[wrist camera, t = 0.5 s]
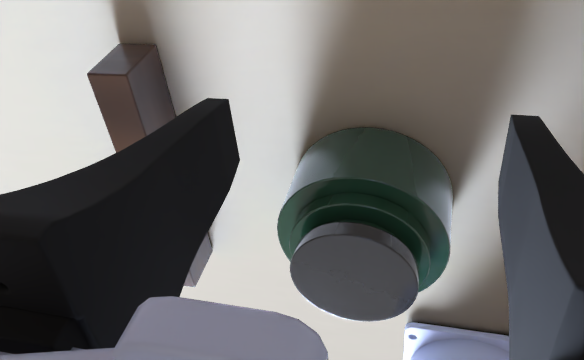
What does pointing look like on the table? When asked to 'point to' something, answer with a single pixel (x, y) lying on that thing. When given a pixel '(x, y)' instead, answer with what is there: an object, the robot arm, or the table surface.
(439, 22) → the table surface
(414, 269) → the green round jar
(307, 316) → the table surface
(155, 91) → the stick
